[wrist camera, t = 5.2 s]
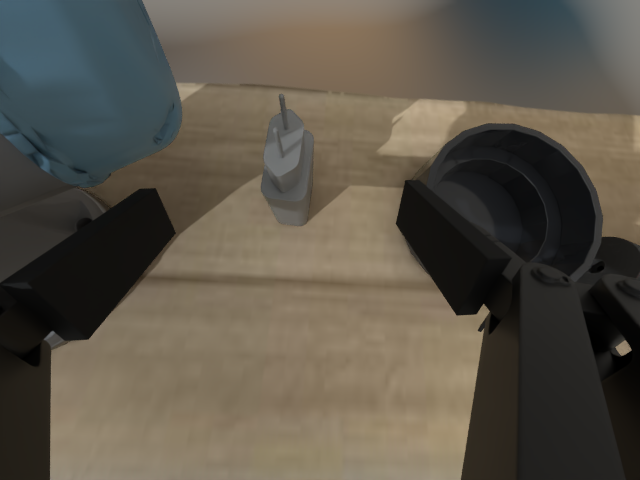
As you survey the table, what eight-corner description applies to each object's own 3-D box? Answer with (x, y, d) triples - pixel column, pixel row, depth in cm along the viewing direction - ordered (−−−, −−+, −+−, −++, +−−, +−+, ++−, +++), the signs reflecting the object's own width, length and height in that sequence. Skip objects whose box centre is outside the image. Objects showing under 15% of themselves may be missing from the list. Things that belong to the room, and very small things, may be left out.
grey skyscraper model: (313, 176, 23) (317, 68, 11) (306, 227, 22) (302, 167, 10) (283, 172, 23) (255, 59, 11) (275, 222, 22) (235, 158, 10)
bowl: (384, 268, 22) (408, 264, 16) (415, 142, 24) (445, 102, 19) (524, 311, 22) (595, 322, 16) (541, 179, 24) (608, 151, 19)
